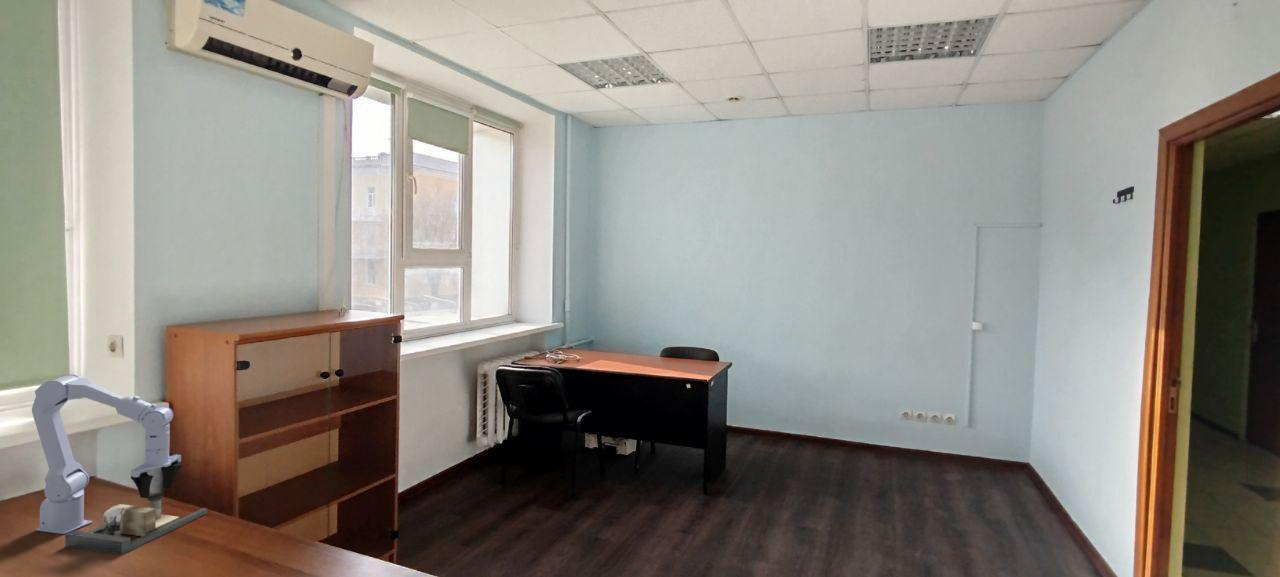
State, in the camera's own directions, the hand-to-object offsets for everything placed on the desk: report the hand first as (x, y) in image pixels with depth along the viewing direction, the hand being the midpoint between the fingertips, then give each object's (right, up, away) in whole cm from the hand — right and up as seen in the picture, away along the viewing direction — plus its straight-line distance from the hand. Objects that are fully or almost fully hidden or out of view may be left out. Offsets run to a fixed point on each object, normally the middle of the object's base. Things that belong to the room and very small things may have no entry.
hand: (156, 492), depth 183 cm
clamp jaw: (-1, -9, -3) cm, 10 cm away
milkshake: (-2, -10, -12) cm, 16 cm away
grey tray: (-1, -9, -4) cm, 10 cm away
